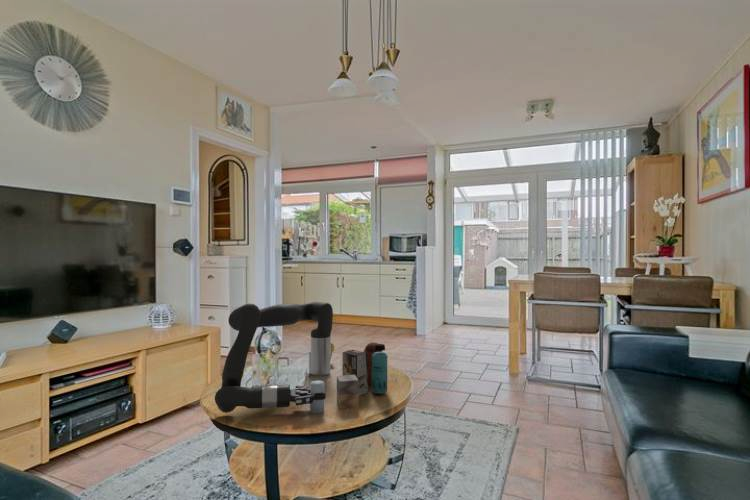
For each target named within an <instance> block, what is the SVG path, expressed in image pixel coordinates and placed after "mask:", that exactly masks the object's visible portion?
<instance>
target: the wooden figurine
mask: <svg viewBox="0 0 750 500" xmlns="http://www.w3.org/2000/svg"><path fill="white" fill-rule="evenodd" d="M376 344H379V343H378V342H370V343H367V345H366V346H365V348H364V349H363V351H362V352H365V353H368V386H370V387H372V386H371V379H372V377H371V376H372V374H371V373H372V355H373V354H374V353H375V352H383V351H377V350H375V345H376Z"/></svg>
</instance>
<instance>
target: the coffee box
mask: <svg viewBox="0 0 750 500" xmlns="http://www.w3.org/2000/svg"><path fill="white" fill-rule="evenodd" d="M341 357H342V365H341V366H342V367H341V369H342V371H341V372H342V375H341V376H343V375H355V376H356V377H357V379H358V380H359V391H358V397H359V396H362V395H363V394H367V393H368V386H369V385H368V353H365V352H363V351H361V350H357V349H356V350H355V349H350V350H346V351H342V356H341Z"/></svg>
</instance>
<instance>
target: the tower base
mask: <svg viewBox="0 0 750 500" xmlns="http://www.w3.org/2000/svg"><path fill="white" fill-rule="evenodd" d="M336 403H337V406H338V409H351V408H352V409H353V408H354V409H355V408H359V396H358V394H350V395H339V393H338V391H337V390H336Z"/></svg>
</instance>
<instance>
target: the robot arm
mask: <svg viewBox="0 0 750 500" xmlns="http://www.w3.org/2000/svg"><path fill="white" fill-rule="evenodd" d="M333 318H334V310H333V306H332V305H331V303H330V302H324V301H323V302H322V301H312V302H308V303H303V304H301V303H300V304H298V303H280V304H274V305H270V306H268V307H267V306H266V307H264V308H259V307H258V305H256V304H255V303H250V302H249V303H246V304H243V305H241V306H239V307H236V308H235V309H234V310H233V311H232V312H230V314H229V316H228V325H229V326H230V328H231V329H233V330H234V331H237V332H238V333H237V336H236V338H235V340H234V343H233V344H232V346H231V347H230V350H229V352H228V353H227V356H226V359H225V362H224V366H223V370H222V375H221V387H220V388H219V389H218V390H217V391H216V392H215V395H214V401H215V404H216V407H217V408H218V410H219V411H220V412H222V413H231V412H232V411H234V410H235V409H236V408H237V407H245V408H246V409H253V410H255V409H277V408H279V409H280V408H289V407H290V406H291V403H295V406H302V405H303V406H304V405H307V404H308V405H310V403H313V401H315V400H324V401H325V400H326V393H325V392H324V393H315V394H314V393H310V385H295V388H292V389H291V386H290V384H275V385H273V384H271V385H266V386H253V387H247V386H246V387H245V386H242V385H241V384H242V379H243V377H244V372H245V367H246V363H247V358H248V355H249V352H250V348H251V346H252V343H253V341H254V337H255V334H256V332H257V329H258V328H264V327H265V328H266V327H267V328H271V327H272V328H273V327H284V326H292V325H295V324H296V323H299V322H300V321H311V322H312V321H313V322H317V327H316V328H314V329H311V330H310V351H309V353H308V373H309V374H310V375H312V376H317V377H318V376H326V375H330V374H331V361H330V349H331V343H332V342H331V338H332V337H331V334H332V330H333V322H334V321H333Z"/></svg>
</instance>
